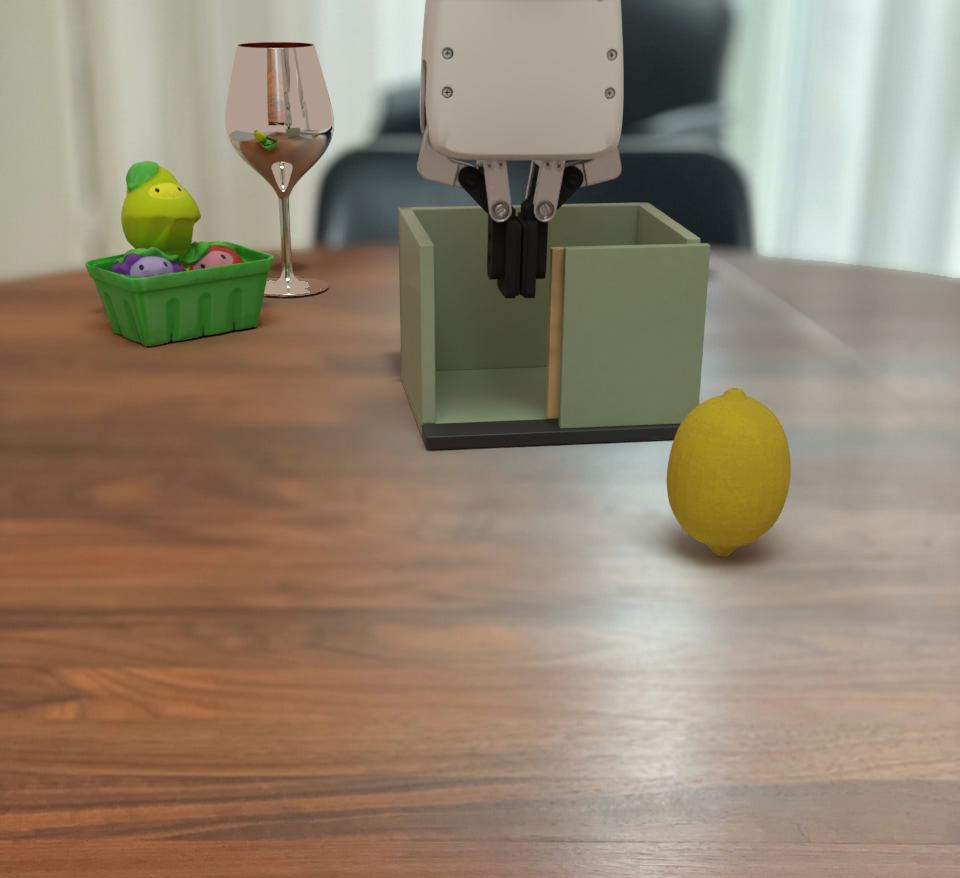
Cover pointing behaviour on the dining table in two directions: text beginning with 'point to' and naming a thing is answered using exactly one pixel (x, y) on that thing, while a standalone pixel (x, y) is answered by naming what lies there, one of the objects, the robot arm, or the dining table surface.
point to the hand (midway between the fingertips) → (515, 292)
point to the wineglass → (279, 126)
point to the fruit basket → (175, 269)
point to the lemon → (728, 471)
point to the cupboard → (524, 329)
